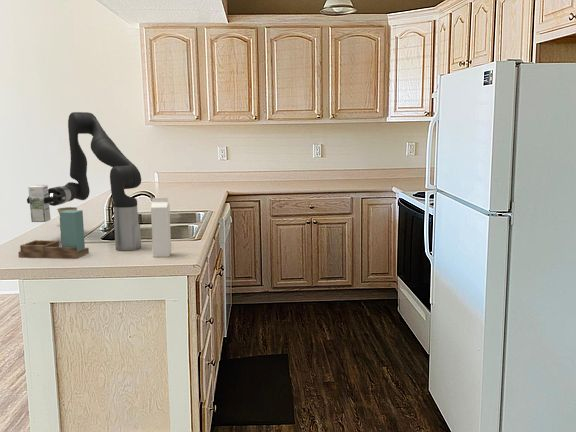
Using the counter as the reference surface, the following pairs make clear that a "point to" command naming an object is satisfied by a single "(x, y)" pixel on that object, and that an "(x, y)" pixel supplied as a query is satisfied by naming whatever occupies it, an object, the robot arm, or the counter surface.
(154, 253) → the milk
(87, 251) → the wooden compartment tray
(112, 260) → the counter surface
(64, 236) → the teal tall block
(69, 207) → the flower pot
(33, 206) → the syrup box
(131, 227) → the robot arm
